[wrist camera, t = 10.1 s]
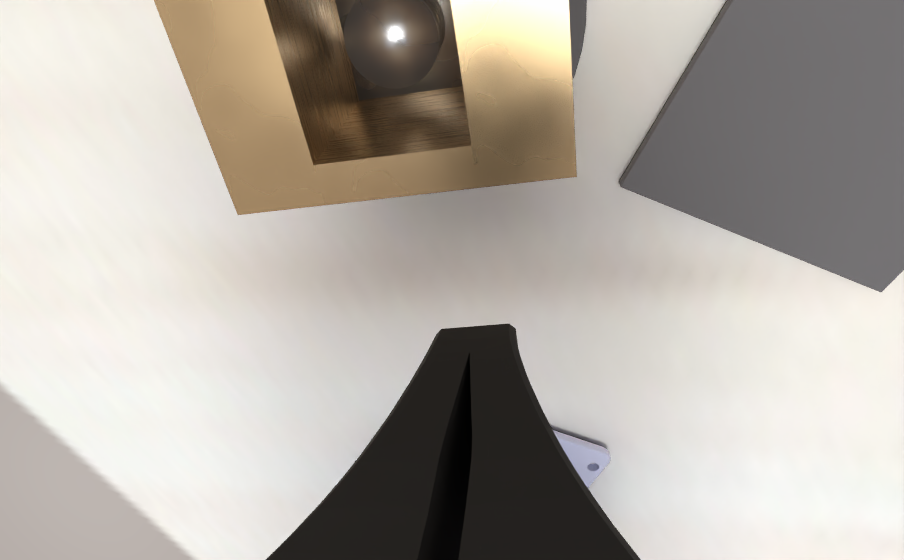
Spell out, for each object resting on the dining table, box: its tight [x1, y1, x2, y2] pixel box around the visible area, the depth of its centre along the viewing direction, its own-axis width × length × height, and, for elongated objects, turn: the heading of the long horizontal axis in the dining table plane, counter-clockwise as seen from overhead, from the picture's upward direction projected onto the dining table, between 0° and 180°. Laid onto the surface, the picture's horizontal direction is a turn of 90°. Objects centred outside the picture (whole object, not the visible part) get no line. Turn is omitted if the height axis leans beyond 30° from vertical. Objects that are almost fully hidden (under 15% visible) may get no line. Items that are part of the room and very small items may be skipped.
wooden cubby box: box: [154, 0, 577, 215], centre depth 14 cm, size 6×8×5 cm
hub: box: [335, 0, 587, 100], centre depth 16 cm, size 10×10×3 cm
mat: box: [619, 0, 904, 292], centre depth 16 cm, size 12×10×1 cm
